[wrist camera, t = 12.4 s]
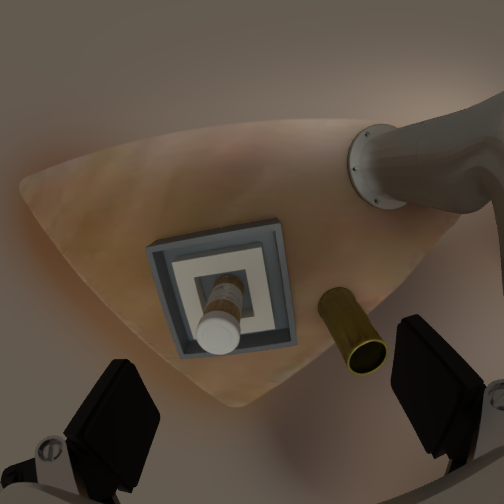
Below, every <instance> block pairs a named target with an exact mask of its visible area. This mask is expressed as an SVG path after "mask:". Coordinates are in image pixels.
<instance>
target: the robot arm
mask: <svg viewBox="0 0 504 504" xmlns="http://www.w3.org/2000/svg"><path fill="white" fill-rule="evenodd" d="M364 134H366V137H365V135H364ZM347 165H348V173H349V176H350V180H351V182H352V184H353V186H354V188H355V190H356V191H357V193H358V194H359V195H360V196H361V197H362V198H363V199H364V200H365V201H366V202H368V203H369V204H371V205H373V206H375V207H377V208H381V209H387V210H392V209H398V208H401V207H403V206H405V205H406V204H408V203H411V204H416V205H421V206H425V207H430V208H435V209H439V210H443V211H448V212H453V213H458V214H468V213H472V212H475V211H478V210H479V209H481V208H482V207H484V206H485V205H486V204H487V203H488V202H489V201H490V200H491V201H492V204H493V207H494V212H495V219H496V224H497V228H498V235H499V245H500V257H501V270H502V286H503V295H504V91H503V92H501V93H499V94H497V95H495V96H493V97H491V98H489V99H487V100H485V101H483V102H481V103H479V104H476V105H474V106H472V107H469V108H467V109H464V110H460V111H457V112H454V113H451V114H448V115H444V116H440V117H437V118H433V119H429V120H426V121H422V122H419V123H415V124H412V125H409V126H405V127H402V128H399V129H398V128H396V127H394V126H391V125H386V124H378V125H373V126H370V127H368V128H366V129H364V130H362V131H361V132H360V133H359V134H358V135H357V136H356V137H355V139H354V140H353V142H352V144H351V146H350V149H349V153H348V162H347ZM353 168H354V169H355V171H353V170H352V169H353ZM375 199H376V202H374V200H375ZM391 387H392V389H393V391H394V393H395V395H396V397H397V398H398V400H399V402H400V404H401V406H402V407H403V409H404V411H405V413H406V415H407V417H408V418H409V420H410V422H411V424H412V426H413V428H414V430H415V431H416V433H417V435H418V437H419V439H420V441H421V443H422V445H423V446H424V449H425V451H426V452H427V453H428V454H430V453H431V454H432V455H433V457H434V459H436V458H438V457H440V456H442V455H444V454H447V455H448V457H449V462H448V465H447V468H446V472H445V474H444V476H443V477H441V478H439V479H437V480H435V481H433V482H431V483H429V484H427V485H424V486H422V487H420V488H417V489H415V490H412V491H410V492H408V493H405V494H403V495H400V496H398V497H395V498H392V499H389V500H387V501H384V502H381V503H378V504H504V379H501V380H496V381H493V382H491V383H490V384H489V385H488V386H487V387H486V386H485V384H484V381H483V380H482V378H481V377H479V375H478V374H477V373H476V372H475V371H474V370H473V369H472V368H471V367H470V366H469V364H468V363H467V362H466V361H465V360H464V359H463V358H462V357H461V356H460V355H459V354H458V353H457V352H456V351H455V350H454V349H453V348H452V347H451V346H450V345H449V344H448V343H447V342H446V341H445V340H444V339H443V338H442V337H441V336H440V335H439V334H438V333H437V332H436V331H435V330H434V329H433V328H432V327H431V326H430V325H429V324H428V323H427V322H426V321H425V320H424V319H423V318H422V317H421V316H419V315H418V314H415V315H412V316H409V317H405V318H403V319H402V320H401V323H399V324H398V326H397V335H396V344H395V353H394V361H393V368H392V375H391ZM159 422H160V413H159V411H158V409H157V407H156V406H155V404H154V402H153V400H152V398H151V397H150V395H149V393H148V391H147V389H146V387H145V385H144V383H143V381H142V379H141V377H140V375H139V373H138V371H137V369H136V367H135V365H134V364H133V363H131V362H130V361H129V360H128V359H114V360H113V361H111V363H110V364H109V366H108V367H107V368H106V370H105V371H104V373H103V374H102V375H101V377H100V379H99V380H98V381H97V383H96V384H95V386H94V387H93V388H92V390H91V391H90V393H89V395H88V396H87V397H86V399H85V400H84V402H83V403H82V405H81V406H80V408H79V409H78V411H77V412H76V414H75V415H74V417H73V418H72V420H71V421H70V423H69V425H68V426H67V428H66V429H65V431H64V432H63V433H64V435H65V436H66V437H67V440H66V441H65V440H63V438H62V437H59V436H48V437H46V438H44V439H43V440H41V441H40V442H39V444H38V445H37V447H36V449H35V458H32V459H30V460H27V461H24V462H21V463H18V464H15V465H12V466H9V467H8V468H6V469H5V470H4V471H3V474H2V477H1V481H0V504H120V502H119V499H118V498H117V495H116V493H115V492H116V490H117V489H118V490H120V491H124V492H128V493H132V490H133V487H136V486H137V484H138V482H139V479H140V476H141V473H142V470H143V467H144V464H145V461H146V458H147V456H148V453H149V450H150V447H151V444H152V441H153V438H154V436H155V433H156V430H157V427H158V424H159Z"/></svg>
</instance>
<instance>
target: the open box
mask: <svg viewBox="0 0 504 504" xmlns="http://www.w3.org/2000/svg"><path fill="white" fill-rule="evenodd" d="M258 242H261V246H262V252H263V257H264V263H265V269H266V275H267V281H268V287H269V293H270V298H271V304H272V310H273V316H274V323H275V329H271V330H265V331H258V332H251V333H244V334H240V341H239V344H238V346H237V347H236V348H235V349H234V350H233V351H232V352H230V353H227V354H223V355H231V354H240V353H248V352H255V351H262V350H269V349H276V348H282V347H288V346H294V345H297V336H296V328H295V320H294V313H293V305H292V298H291V290H290V283H289V276H288V269H287V262H286V255H285V249H284V242H283V236H282V229H281V223H280V221H279V220H278V218H274V219H268V220H263V221H257V222H251V223H245V224H240V225H234V226H228V227H223V228H217V229H212V230H207V231H201V232H196V233H191V234H186V235H180V236H175V237H170V238H165V239H160V240H156V241H155V242H153V243H152V244H150V245H149V246H147V247H146V252H147V256H148V259H149V263H150V267H151V270H152V274H153V278H154V281H155V284H156V288H157V291H158V295H159V298H160V301H161V304H162V307H163V310H164V314H165V317H166V320H167V323H168V326H169V328H170V331H171V334H172V337H173V340H174V343H175V345H176V348H177V351H178V354H179V356H180V359H187V358H200V357H212V356H222V355H217V354H212V353H209V352H207V351H205V350H204V349H203V348H202V347H201V346H200V345H199V344H198V342H197V339H194V338H193V335H192V332H191V329H190V326H189V322H188V319H187V316H186V313H185V309H184V306H183V302H182V299H181V295H180V292H179V288H178V285H177V281H176V277H175V274H174V270H173V266H172V262H173V261H174V260H175V259H176V258H177V257H178V256H183V255H189V254H195V253H200V252H206V251H212V250H217V249H223V248H229V247H235V246H241V245H247V244H252V243H258ZM224 275H232V276H235V277H237V278H238V279H239V280H240V281H241V282H242V284H243V286H244V294H243V303H242V309H245V308H252V307H253V305H252V300H251V295H250V290H249V285H248V280H247V275H246V270H245V269H243V270H237V271H231V272H225V273H218V274H212V275H206V276H199V277H200V281H201V285H202V289H203V293H204V296H205V300H206V304H207V301H208V299H209V296H210V294H211V291H212V290H213V285H214V283H215V281H216V280H217V279H218V278H219V277H221V276H224Z"/></svg>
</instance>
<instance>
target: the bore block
mask: <svg viewBox="0 0 504 504" xmlns="http://www.w3.org/2000/svg"><path fill="white" fill-rule="evenodd" d="M172 266H173V270H174V274H175V277H176V281H177V285H178V288H179V292H180V295H181V299H182V302H183V306H184V309H185V313H186V316H187V319H188V322H189V326H190V329H191V332H192V335H193V338H194V339H196V329H197V326H198V323H199V321H200V319H201V317H202V316H203V314H204V309H205V307H206V300H205V296H204V293H203V289H202V285H201V281H200V277H199V276H206V275H212V274H218V273H225V272H231V271H237V270H243V269H245V270H246V275H247V280H248V285H249V290H250V295H251V300H252V305H253V307H252V308H245V309H242V313H241V320H240V327H241V334H244V333H251V332H258V331H265V330H271V329H275V323H274V316H273V310H272V304H271V298H270V293H269V287H268V281H267V275H266V269H265V263H264V257H263V252H262V246H261V242H258V243H252V244H247V245H241V246H235V247H229V248H223V249H217V250H212V251H206V252H200V253H195V254H189V255H183V256H178V257H177V258H176V259H175V260H174V261H173V262H172Z"/></svg>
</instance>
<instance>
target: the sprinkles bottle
mask: <svg viewBox="0 0 504 504" xmlns="http://www.w3.org/2000/svg"><path fill="white" fill-rule="evenodd" d="M243 294H244V286H243V284H242V282H241V281H240V280H239V279H238V278H237V277H235V276H232V275H224V276H221V277H219V278H218V279H217V280H216V281H215V283H214V285H213V290H212V291H211V294H210V296H209V299H208V301H207V304H206V307H205V309H204V314H203V316H202V317H201V319H200V321H199V323H198V326H197V329H196V339H197V342H198V344H199V345H200V346H201V347H202V348H203V349H204V350H205V351H207V352H209V353H212V354H217V355H223V354H227V353H230V352H232V351H233V350H234V349H235V348H236V347H237V346H238V344H239V341H240V334H241V327H240V320H241V313H242V303H243Z"/></svg>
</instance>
